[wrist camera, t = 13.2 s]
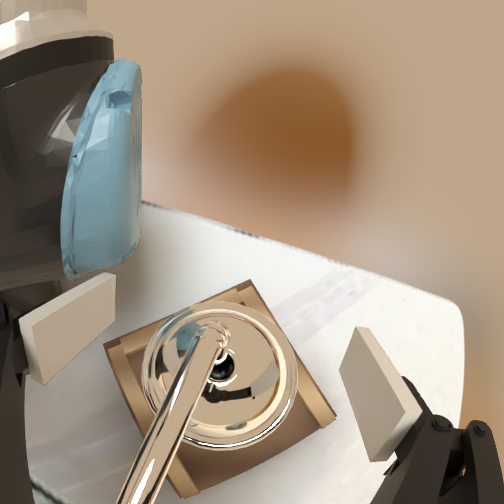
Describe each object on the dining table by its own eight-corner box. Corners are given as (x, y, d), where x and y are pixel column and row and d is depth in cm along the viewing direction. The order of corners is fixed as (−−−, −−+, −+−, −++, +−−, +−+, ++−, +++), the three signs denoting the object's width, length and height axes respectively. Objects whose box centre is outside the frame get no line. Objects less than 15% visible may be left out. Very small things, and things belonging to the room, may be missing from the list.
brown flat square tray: (107, 346, 24) (99, 341, 22) (248, 284, 29) (251, 275, 28) (181, 494, 17) (179, 500, 15) (332, 416, 23) (340, 415, 21)
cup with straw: (288, 390, 23) (455, 318, 6) (211, 456, 19) (189, 588, 2) (223, 324, 25) (238, 132, 9) (147, 383, 22) (-15, 290, 5)
